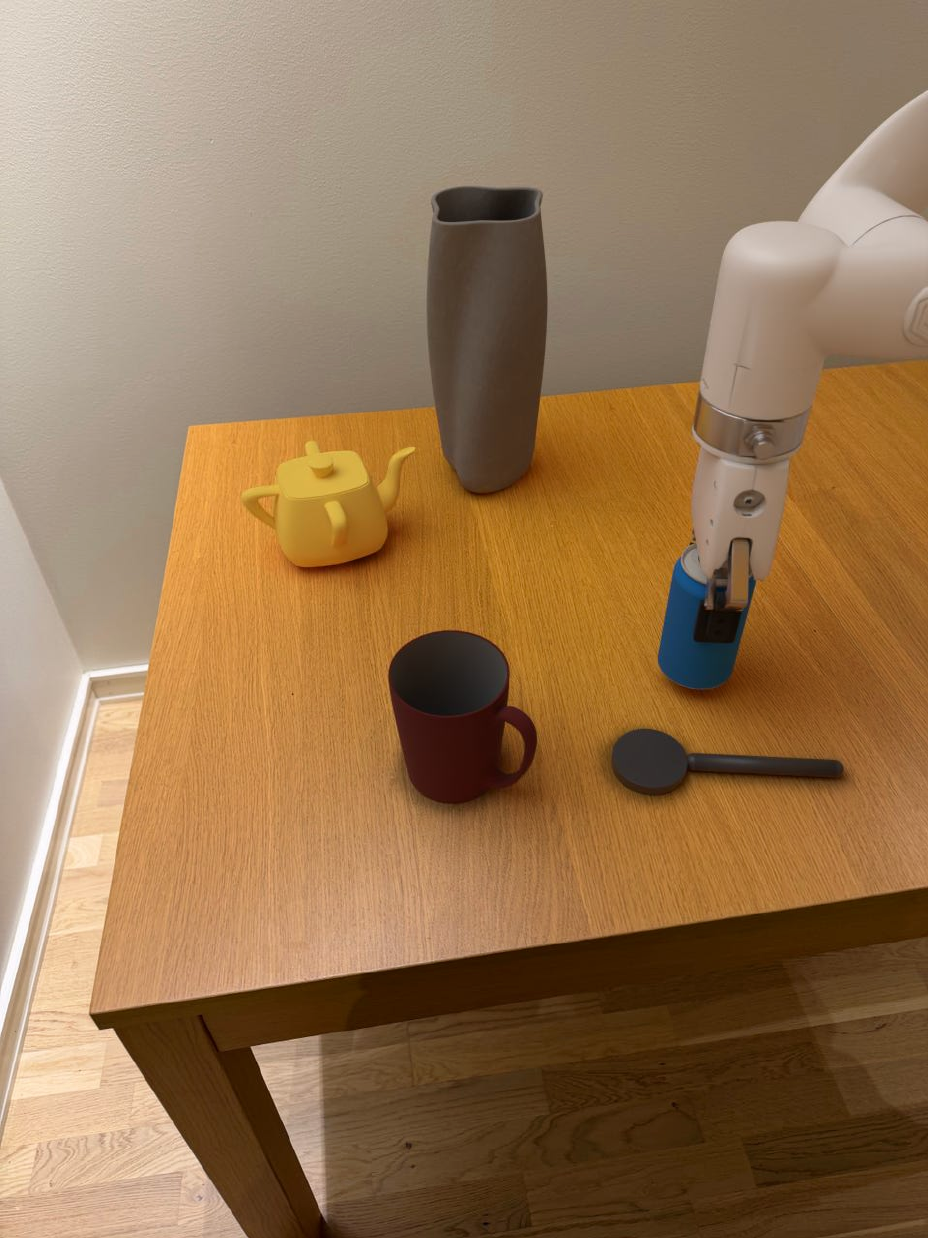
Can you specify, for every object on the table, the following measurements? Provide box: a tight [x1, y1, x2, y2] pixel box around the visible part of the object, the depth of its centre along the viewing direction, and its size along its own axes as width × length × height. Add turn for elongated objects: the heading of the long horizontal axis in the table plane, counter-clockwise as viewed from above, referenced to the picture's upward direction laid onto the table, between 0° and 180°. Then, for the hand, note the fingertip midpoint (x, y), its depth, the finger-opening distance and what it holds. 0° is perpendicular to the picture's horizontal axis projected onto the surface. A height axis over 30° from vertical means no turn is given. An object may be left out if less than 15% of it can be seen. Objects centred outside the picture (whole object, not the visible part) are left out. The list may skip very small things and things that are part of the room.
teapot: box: [240, 440, 416, 568], centre depth 91 cm, size 14×13×10 cm
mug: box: [387, 629, 538, 804], centre depth 68 cm, size 12×9×11 cm
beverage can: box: [657, 542, 757, 690], centre depth 74 cm, size 6×6×12 cm
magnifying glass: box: [610, 728, 845, 796], centre depth 71 cm, size 18×6×1 cm, turn 86°
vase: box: [426, 185, 549, 494], centre depth 94 cm, size 12×12×30 cm
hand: (707, 608), depth 73 cm, fingers closed on beverage can, 6 cm apart
